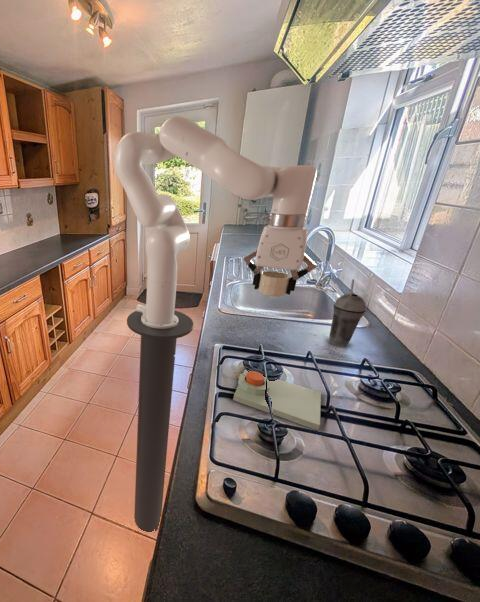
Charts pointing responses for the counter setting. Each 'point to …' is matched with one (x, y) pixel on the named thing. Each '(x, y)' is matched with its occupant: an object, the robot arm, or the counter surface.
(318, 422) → the scale
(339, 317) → the beverage cup
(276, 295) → the bowl
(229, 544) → the counter surface
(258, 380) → the button
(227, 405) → the counter surface
